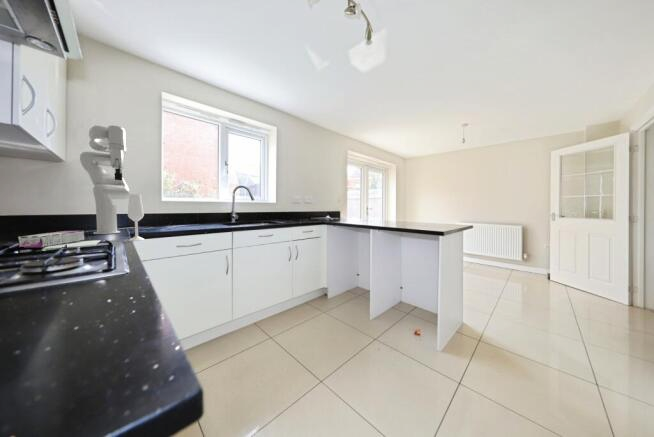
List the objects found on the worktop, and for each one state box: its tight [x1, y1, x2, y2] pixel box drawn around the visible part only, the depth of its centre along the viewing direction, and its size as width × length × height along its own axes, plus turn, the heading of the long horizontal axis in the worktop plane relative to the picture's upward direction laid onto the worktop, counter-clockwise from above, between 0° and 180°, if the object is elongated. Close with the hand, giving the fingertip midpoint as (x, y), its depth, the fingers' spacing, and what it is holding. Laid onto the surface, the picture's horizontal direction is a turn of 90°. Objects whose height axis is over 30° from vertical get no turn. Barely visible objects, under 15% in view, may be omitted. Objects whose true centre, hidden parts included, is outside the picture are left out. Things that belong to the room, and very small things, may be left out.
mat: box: [42, 239, 101, 250], centre depth 107 cm, size 18×15×1 cm
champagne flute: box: [127, 193, 145, 242], centre depth 123 cm, size 7×7×24 cm
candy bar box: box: [17, 230, 86, 248], centre depth 106 cm, size 11×5×16 cm
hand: (118, 179), depth 136 cm, fingers closed
